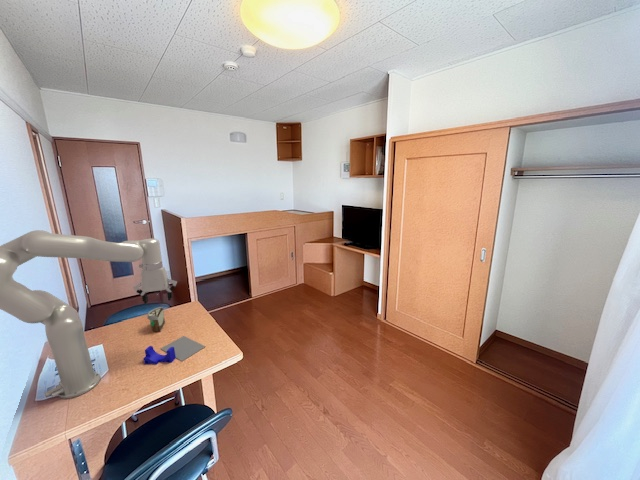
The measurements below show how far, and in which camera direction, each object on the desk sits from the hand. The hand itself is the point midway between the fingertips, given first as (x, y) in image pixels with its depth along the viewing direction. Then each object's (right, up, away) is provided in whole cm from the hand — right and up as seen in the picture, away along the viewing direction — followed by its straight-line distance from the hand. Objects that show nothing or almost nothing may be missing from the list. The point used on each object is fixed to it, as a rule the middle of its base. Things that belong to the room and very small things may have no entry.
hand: (158, 300), depth 120 cm
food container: (-16, -21, +24) cm, 35 cm away
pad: (+8, -24, +6) cm, 27 cm away
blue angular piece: (+3, -27, -3) cm, 27 cm away
